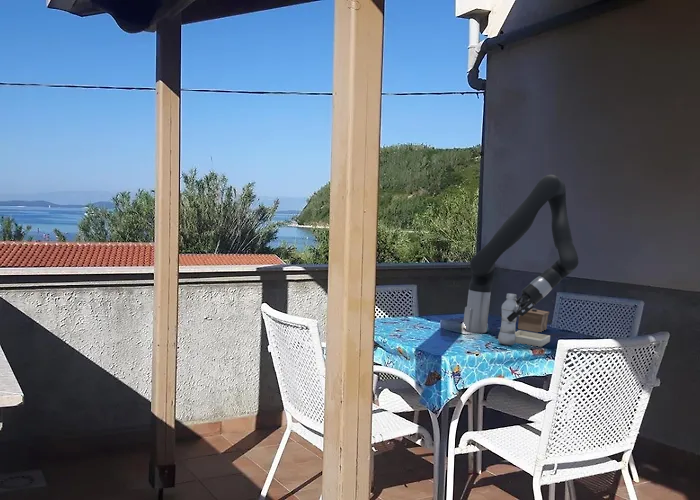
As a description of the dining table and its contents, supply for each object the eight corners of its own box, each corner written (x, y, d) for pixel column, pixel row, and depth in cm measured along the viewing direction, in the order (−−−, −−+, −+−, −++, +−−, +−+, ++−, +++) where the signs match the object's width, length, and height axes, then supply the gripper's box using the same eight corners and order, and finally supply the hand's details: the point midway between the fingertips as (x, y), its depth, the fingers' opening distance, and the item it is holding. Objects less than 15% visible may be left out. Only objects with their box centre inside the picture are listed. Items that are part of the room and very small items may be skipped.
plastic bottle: (515, 347, 259) (521, 296, 258) (497, 345, 260) (503, 293, 259) (514, 344, 265) (520, 294, 264) (497, 342, 267) (502, 292, 265)
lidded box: (540, 333, 296) (543, 312, 296) (516, 328, 302) (518, 308, 301) (547, 329, 308) (549, 309, 307) (523, 325, 313) (526, 305, 312)
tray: (540, 347, 264) (541, 341, 264) (508, 341, 270) (508, 335, 270) (549, 341, 278) (550, 335, 278) (518, 335, 284) (519, 330, 284)
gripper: (523, 280, 269) (492, 308, 268) (539, 285, 255) (507, 314, 254) (533, 294, 271) (502, 322, 269) (551, 300, 257) (518, 329, 255)
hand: (505, 318), depth 262 cm, fingers closed on plastic bottle, 6 cm apart
